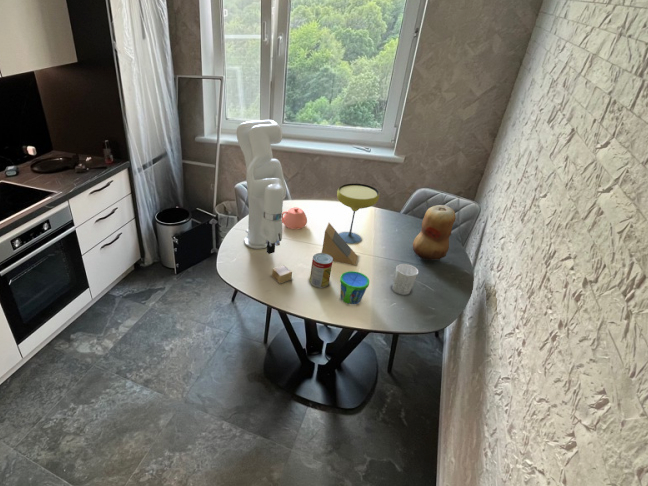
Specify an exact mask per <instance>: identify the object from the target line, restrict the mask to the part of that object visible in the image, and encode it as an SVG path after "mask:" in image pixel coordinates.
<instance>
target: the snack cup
mask: <svg viewBox="0 0 648 486" xmlns="http://www.w3.org/2000/svg"><path fill="white" fill-rule="evenodd" d="M339 283H340V300H341V301H342V302H343V303H344V304H346V305H358V304H359V303H361V301H362V299H363V297H364V295H365V293H366V291H367V289H368V287H369V286H370V279H369V277H368V276H367V275H365V274H364V273H362V272H359V271H354V270H348V271H345V272H343V273H341V275H340V277H339Z"/></svg>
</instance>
